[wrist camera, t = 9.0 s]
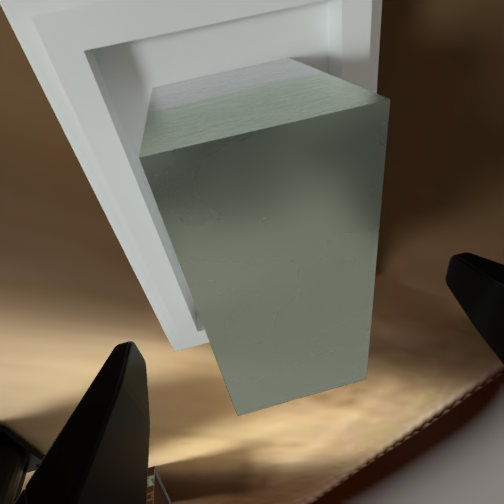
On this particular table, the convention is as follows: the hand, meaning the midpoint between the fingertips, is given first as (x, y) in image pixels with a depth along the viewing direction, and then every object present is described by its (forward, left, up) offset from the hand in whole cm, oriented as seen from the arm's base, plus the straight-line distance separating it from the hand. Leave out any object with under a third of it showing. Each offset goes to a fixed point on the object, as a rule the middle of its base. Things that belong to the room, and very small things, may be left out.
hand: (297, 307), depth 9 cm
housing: (0, 0, -7) cm, 7 cm away
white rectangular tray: (0, 0, -9) cm, 9 cm away
